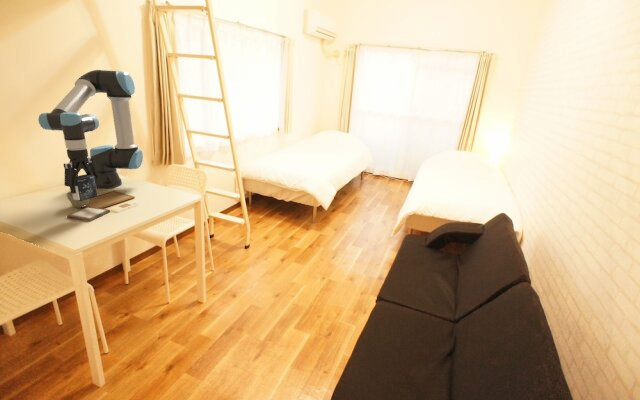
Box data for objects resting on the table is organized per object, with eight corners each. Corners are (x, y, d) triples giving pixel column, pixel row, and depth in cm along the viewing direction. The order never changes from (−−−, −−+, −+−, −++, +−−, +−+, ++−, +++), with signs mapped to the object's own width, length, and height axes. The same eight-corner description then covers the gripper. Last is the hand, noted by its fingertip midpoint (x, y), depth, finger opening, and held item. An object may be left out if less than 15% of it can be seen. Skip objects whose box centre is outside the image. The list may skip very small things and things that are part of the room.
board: (88, 208, 165) (88, 206, 165) (110, 211, 163) (109, 209, 163) (67, 218, 154) (66, 215, 153) (90, 221, 152) (89, 218, 152)
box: (80, 201, 151) (76, 179, 147) (73, 199, 153) (69, 177, 150) (98, 197, 158) (94, 175, 154) (91, 194, 160) (87, 173, 156)
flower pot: (81, 210, 162) (78, 197, 160) (64, 208, 164) (61, 194, 161) (98, 204, 172) (95, 190, 169) (81, 201, 173) (78, 188, 171)
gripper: (89, 143, 158) (97, 188, 166) (46, 152, 138) (57, 203, 146) (103, 145, 157) (110, 190, 165) (62, 154, 137) (72, 205, 145)
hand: (85, 196), depth 155 cm, fingers closed on box, 9 cm apart
